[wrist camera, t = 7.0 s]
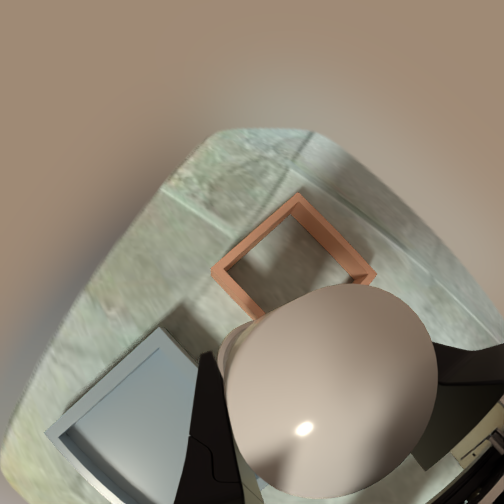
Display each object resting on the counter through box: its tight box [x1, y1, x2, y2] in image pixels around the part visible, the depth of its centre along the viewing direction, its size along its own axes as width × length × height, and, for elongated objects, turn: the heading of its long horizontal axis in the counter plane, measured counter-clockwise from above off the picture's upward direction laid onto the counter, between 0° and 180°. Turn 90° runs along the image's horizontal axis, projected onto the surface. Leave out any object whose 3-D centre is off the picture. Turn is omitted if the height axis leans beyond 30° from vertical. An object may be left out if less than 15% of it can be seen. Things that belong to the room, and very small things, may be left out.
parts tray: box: [44, 327, 268, 504], centre depth 17 cm, size 14×14×2 cm
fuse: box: [217, 284, 438, 499], centre depth 10 cm, size 4×4×12 cm
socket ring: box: [211, 192, 377, 320], centre depth 22 cm, size 9×9×2 cm
